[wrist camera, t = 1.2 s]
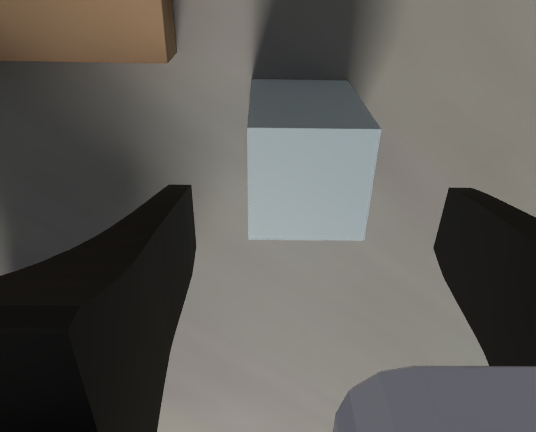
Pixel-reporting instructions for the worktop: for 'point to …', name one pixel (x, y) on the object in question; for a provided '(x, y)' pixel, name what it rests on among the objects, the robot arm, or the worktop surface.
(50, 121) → the worktop surface
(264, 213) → the block
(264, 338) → the worktop surface
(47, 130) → the worktop surface
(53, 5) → the base
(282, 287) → the worktop surface
